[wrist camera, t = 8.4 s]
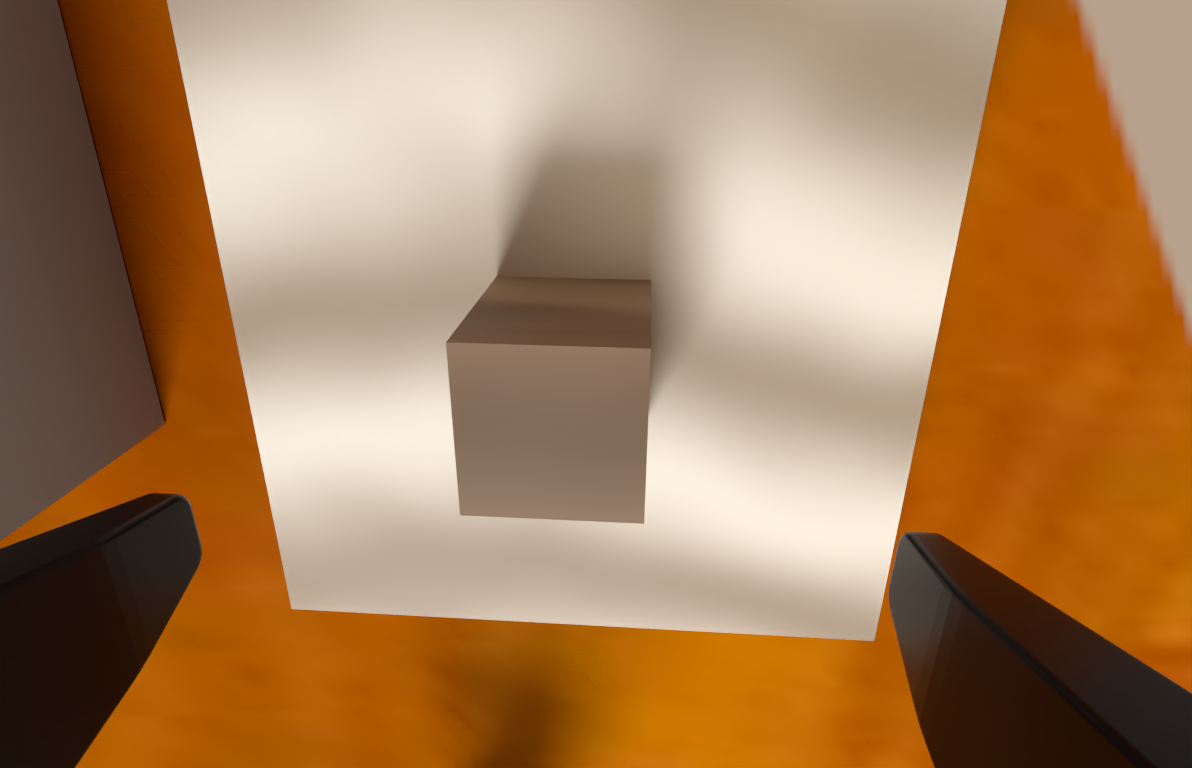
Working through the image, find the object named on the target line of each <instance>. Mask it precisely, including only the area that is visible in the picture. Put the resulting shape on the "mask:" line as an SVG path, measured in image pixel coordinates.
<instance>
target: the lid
mask: <svg viewBox="0 0 1192 768" xmlns="http://www.w3.org/2000/svg"><path fill="white" fill-rule="evenodd" d="M1006 2H1007V0H167V3H168V8H169V13H170V18H171V23H172V28H173V33H174V38H175V42H176V47H177V52H178V57H179V62H180V67H181V72H182V77H183V81H184V86H185V91H186V96H187V101H188V106H189V111H190V116H191V120H192V125H193V130H194V135H195V140H196V145H197V150H198V155H199V159H200V164H201V169H202V174H203V179H204V184H205V189H206V194H207V198H208V203H209V208H210V213H211V218H212V223H213V228H214V233H215V237H216V242H217V247H218V252H219V257H220V262H221V267H222V272H223V276H224V281H225V286H226V291H227V296H228V301H229V306H230V311H231V315H232V320H233V325H234V330H235V335H236V340H237V345H238V350H239V354H240V359H241V364H242V369H243V374H244V379H245V384H246V389H247V393H248V398H249V403H250V408H251V413H252V418H253V423H254V428H255V432H256V437H257V442H258V447H259V452H260V457H261V462H262V467H263V471H264V476H265V481H266V486H267V491H268V496H269V501H270V506H271V510H272V515H273V520H274V525H275V530H276V535H277V540H278V545H279V549H280V554H281V559H282V564H283V569H284V574H285V579H286V584H287V588H288V593H289V598H290V603H291V608H292V609H302V610H320V611H339V612H357V613H375V614H393V615H411V616H430V617H448V618H466V619H484V620H502V621H521V622H539V623H557V624H575V625H593V626H612V627H630V628H648V629H666V630H685V631H703V632H721V633H739V634H757V635H776V636H794V637H812V638H830V639H848V640H867V641H874V639H875V635H876V630H877V625H878V620H879V615H880V610H881V606H882V601H883V596H884V591H885V586H886V582H887V577H888V572H889V567H890V562H891V557H892V553H893V548H894V543H895V538H896V533H897V528H898V524H899V519H900V514H901V509H902V504H903V499H904V495H905V490H906V485H907V480H908V475H909V471H910V466H911V461H912V456H913V451H914V446H915V442H916V437H917V432H918V427H919V422H920V417H921V413H922V408H923V403H924V398H925V393H926V388H927V384H928V379H929V374H930V369H931V364H932V360H933V355H934V350H935V345H936V340H937V335H938V331H939V326H940V321H941V316H942V311H943V306H944V302H945V297H946V292H947V287H948V282H949V277H950V273H951V268H952V263H953V258H954V253H955V248H956V244H957V239H958V234H959V229H960V224H961V220H962V215H963V210H964V205H965V200H966V195H967V191H968V186H969V181H970V176H971V171H972V166H973V162H974V157H975V152H976V147H977V142H978V137H979V133H980V128H981V123H982V118H983V113H984V109H985V104H986V99H987V94H988V89H989V84H990V80H991V75H992V70H993V65H994V60H995V55H996V51H997V46H998V41H999V36H1000V31H1001V26H1002V22H1003V17H1004V12H1005V7H1006Z"/></svg>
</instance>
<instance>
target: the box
mask: <svg viewBox="0 0 1192 768" xmlns="http://www.w3.org/2000/svg"><path fill="white" fill-rule="evenodd" d="M164 424H165V422H164V418H163V414H162V410H161V406H160V402H159V398H158V394H157V390H156V386H155V382H154V378H153V374H152V371H151V367H150V363H149V359H148V355H147V351H146V347H145V343H144V339H143V335H142V331H141V327H140V323H139V319H138V316H137V312H136V308H135V304H134V300H133V296H132V292H131V288H130V284H129V280H128V276H127V272H126V268H125V264H124V261H123V257H122V253H121V249H120V245H119V241H118V237H117V233H116V229H115V225H114V221H113V217H112V213H111V209H110V206H109V202H108V198H107V194H106V190H105V186H104V182H103V178H102V174H101V170H100V166H99V162H98V158H97V154H96V151H95V147H94V143H93V139H92V135H91V131H90V127H89V123H88V119H87V115H86V111H85V107H84V103H83V100H82V96H81V92H80V88H79V84H78V80H77V76H76V72H75V68H74V64H73V60H72V56H71V52H70V48H69V45H68V41H67V37H66V33H65V29H64V25H63V21H62V17H61V13H60V9H59V5H58V1H57V0H0V541H1V540H2V539H3V538H5V537H6V536H8V535H9V534H10V533H12V532H13V531H15V530H16V529H18V528H19V527H20V526H22V525H23V524H25V523H26V522H27V521H29V520H30V519H32V518H33V517H34V516H36V515H37V514H39V513H40V512H41V511H43V510H44V509H46V508H47V507H49V506H50V505H51V504H53V503H54V502H56V501H57V500H58V499H60V498H61V497H63V496H64V495H65V494H67V493H68V492H70V491H71V490H73V489H74V488H75V487H77V486H78V485H80V484H81V483H82V482H84V481H85V480H87V479H88V478H89V477H91V476H92V475H94V474H95V473H97V472H98V471H99V470H101V469H102V468H104V467H105V466H106V465H108V464H109V463H111V462H112V461H113V460H115V459H116V458H118V457H119V456H120V455H122V454H123V453H125V452H126V451H128V450H129V449H130V448H132V447H133V446H135V445H136V444H137V443H139V442H140V441H142V440H143V439H144V438H146V437H147V436H149V435H150V434H152V433H153V432H154V431H156V430H157V429H159V428H160V427H161V426H163V425H164Z"/></svg>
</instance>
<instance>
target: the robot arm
mask: <svg viewBox="0 0 1192 768" xmlns="http://www.w3.org/2000/svg"><path fill="white" fill-rule="evenodd" d="M201 555H202V548H201V543H200V539H199V535H198V531H197V527H196V523H195V519H194V515H193V511H192V507H191V504H190V502H189V501H188V499H187V498H186V497H184V496H182V495H179V494H162V493H152V494H148V495H145V496H142V497H139V498H137V499H134V500H131V501H129V502H126V503H123V504H120V505H118V506H115V507H112V508H110V509H107V510H104V511H101V512H99V513H96V514H93V515H91V516H88V517H85V518H83V519H80V520H77V521H74V522H72V523H69V524H66V525H64V526H61V527H58V528H55V529H53V530H50V531H47V532H45V533H42V534H39V535H37V536H34V537H31V538H28V539H26V540H23V541H20V542H18V543H15V544H12V545H10V546H7V547H4V548H1V549H0V768H75V767H76V766H77V764H78V763H79V761H80V760H81V758H82V757H83V755H84V754H85V752H86V751H87V749H88V748H89V746H90V745H91V744H92V742H93V741H94V739H95V738H96V736H97V735H98V733H99V732H100V730H101V729H102V727H103V726H104V725H105V723H106V722H107V720H108V719H109V717H110V716H111V714H112V713H113V711H114V710H115V708H116V707H117V705H118V704H119V703H120V701H121V700H122V698H123V697H124V695H125V694H126V692H127V691H128V689H129V688H130V686H131V685H132V683H133V682H134V680H135V679H136V677H137V676H138V674H139V672H140V671H141V669H142V668H143V666H144V664H145V662H146V661H147V659H148V657H149V656H150V654H151V652H152V650H153V649H154V647H155V645H156V643H157V641H158V639H159V638H160V636H161V634H162V632H163V630H164V629H165V627H166V625H167V623H168V621H169V619H170V618H171V616H172V614H173V612H174V610H175V609H176V607H177V605H178V603H179V601H180V600H181V598H182V596H183V594H184V592H185V590H186V589H187V587H188V585H189V583H190V581H191V580H192V578H193V576H194V574H195V572H196V570H197V569H198V566H199V564H200V560H201ZM889 605H890V610H891V614H892V618H893V622H894V626H895V630H896V634H897V638H898V642H899V646H900V651H901V655H902V659H903V663H904V667H905V671H906V675H907V679H908V683H909V687H910V691H911V695H912V699H913V703H914V707H915V711H916V714H917V718H918V722H919V725H920V728H921V731H922V734H923V737H924V740H925V743H926V745H927V748H928V751H929V754H930V756H931V759H932V762H933V764H934V767H935V768H1192V693H1190V692H1189V691H1187V690H1186V689H1184V688H1183V687H1181V686H1179V685H1178V684H1176V683H1175V682H1173V681H1171V680H1170V679H1168V678H1167V677H1165V676H1164V675H1162V674H1160V673H1159V672H1157V671H1156V670H1154V669H1153V668H1151V667H1149V666H1148V665H1146V664H1145V663H1143V662H1141V661H1140V660H1138V659H1137V658H1135V657H1134V656H1132V655H1130V654H1129V653H1127V652H1126V651H1124V650H1122V649H1121V648H1119V647H1118V646H1116V645H1115V644H1113V643H1111V642H1110V641H1108V640H1107V639H1105V638H1103V637H1102V636H1100V635H1099V634H1097V633H1096V632H1094V631H1092V630H1091V629H1089V628H1088V627H1086V626H1084V625H1083V624H1081V623H1080V622H1078V621H1077V620H1075V619H1073V618H1072V617H1070V616H1069V615H1067V614H1066V613H1064V612H1062V611H1061V610H1059V609H1058V608H1056V607H1054V606H1053V605H1051V604H1050V603H1048V602H1047V601H1045V600H1043V599H1042V598H1040V597H1039V596H1037V595H1035V594H1034V593H1032V592H1031V591H1029V590H1028V589H1026V588H1024V587H1023V586H1021V585H1020V584H1018V583H1016V582H1015V581H1013V580H1012V579H1010V578H1009V577H1007V576H1005V575H1004V574H1002V573H1001V572H999V571H998V570H996V569H994V568H993V567H991V566H990V565H988V564H986V563H985V562H983V561H982V560H980V559H979V558H977V557H975V556H974V555H972V554H971V553H969V552H967V551H966V550H964V549H963V548H961V547H960V546H958V545H956V544H955V543H953V542H952V541H950V540H948V539H947V538H945V537H944V536H942V535H940V534H937V533H922V532H906V533H905V534H903V535H902V536H901V538H900V540H899V543H898V547H897V552H896V557H895V561H894V566H893V571H892V576H891V580H890V585H889Z"/></svg>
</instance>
